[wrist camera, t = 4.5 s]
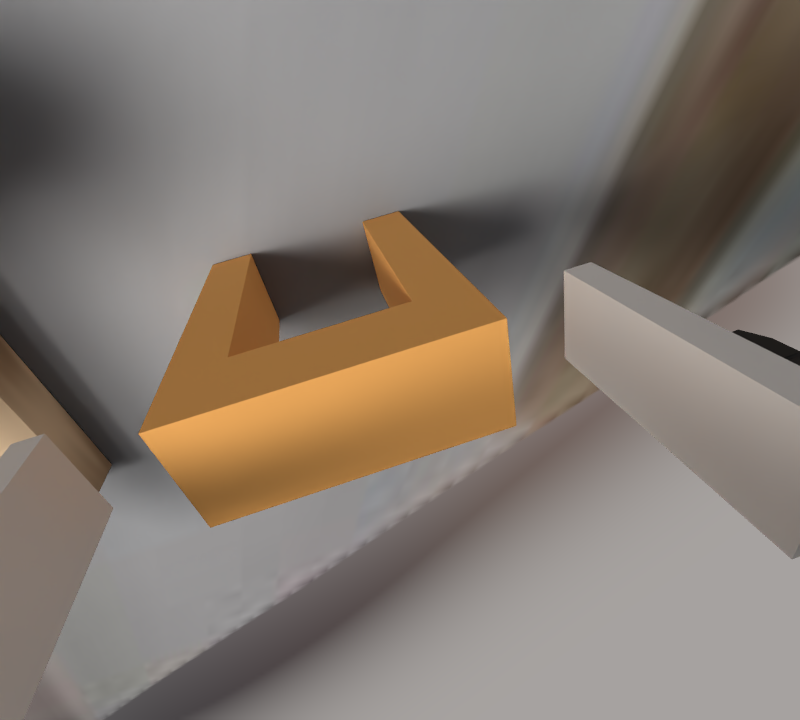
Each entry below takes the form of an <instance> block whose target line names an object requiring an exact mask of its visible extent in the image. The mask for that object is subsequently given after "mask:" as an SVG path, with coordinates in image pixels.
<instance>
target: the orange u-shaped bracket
mask: <svg viewBox="0 0 800 720" xmlns="http://www.w3.org/2000/svg"><path fill="white" fill-rule="evenodd" d="M363 226H364V230H365V233H366V237H367V241H368V245H369V248H370V252H371V256H372V260H373V264H374V267H375V271H376V275H377V279H378V282H379V286H380V290H381V292H382V294H383V296H384V298H385V300H386V302H387V304H388V306H389V308H388V309H385V310H381V311H378V312H375V313H372V314H368V315H365V316H362V317H358V318H355V319H352V320H349V321H345V322H342V323H339V324H336V325H332V326H329V327H326V328H322V329H319V330H316V331H313V332H309V333H306V334H303V335H299V336H296V337H293V338H290V339H286V340H283V341H280V342H279V321H280V320H279V318H278V316H277V313H276V311H275V309H274V306H273V304H272V302H271V299H270V297H269V295H268V292H267V290H266V288H265V285H264V283H263V281H262V278H261V276H260V274H259V271H258V269H257V267H256V264H255V262H254V260H253V257H252V255H251V254H249V255H246V256H242V257H239V258H235V259H232V260H228V261H225V262H221V263H218V264H214V265H213V266H212V268H211V270H210V273H209V275H208V277H207V279H206V282H205V284H204V286H203V289H202V291H201V293H200V295H199V298H198V300H197V302H196V304H195V307H194V309H193V311H192V313H191V316H190V318H189V320H188V323H187V325H186V327H185V329H184V332H183V334H182V336H181V338H180V341H179V343H178V345H177V347H176V350H175V352H174V354H173V357H172V359H171V361H170V363H169V366H168V368H167V370H166V372H165V375H164V377H163V379H162V381H161V384H160V386H159V388H158V390H157V393H156V395H155V397H154V400H153V402H152V404H151V406H150V409H149V411H148V413H147V415H146V418H145V420H144V422H143V424H142V427H141V429H140V431H139V435H140V436H141V438H142V439H143V440H144V442H145V443H146V444H147V446H148V447H149V448H150V450H151V451H152V452H153V453H154V455H155V456H156V457H157V459H158V460H159V461H160V463H161V464H162V465H163V466H164V468H165V469H166V470H167V472H168V473H169V474H170V476H171V477H172V478H173V480H174V481H175V482H176V483H177V485H178V486H179V487H180V489H181V490H182V491H183V493H184V494H185V495H186V497H187V498H188V499H189V500H190V502H191V503H192V504H193V506H194V507H195V508H196V510H197V511H198V512H199V513H200V515H201V516H202V517H203V519H204V520H205V521H206V523H207V524H208V525H209V527H210V528H211V527H214V526H217V525H220V524H223V523H226V522H229V521H232V520H235V519H238V518H241V517H244V516H247V515H250V514H253V513H256V512H259V511H262V510H265V509H268V508H271V507H274V506H277V505H280V504H283V503H286V502H289V501H292V500H295V499H298V498H301V497H304V496H307V495H310V494H313V493H316V492H319V491H322V490H325V489H328V488H331V487H334V486H337V485H340V484H343V483H346V482H349V481H352V480H355V479H358V478H361V477H364V476H367V475H370V474H373V473H376V472H379V471H382V470H385V469H388V468H391V467H394V466H397V465H400V464H403V463H406V462H409V461H412V460H415V459H418V458H421V457H424V456H427V455H430V454H433V453H436V452H439V451H442V450H445V449H448V448H451V447H454V446H457V445H460V444H463V443H466V442H469V441H472V440H475V439H478V438H481V437H484V436H487V435H490V434H493V433H496V432H499V431H502V430H505V429H508V428H511V427H514V426H516V415H515V404H514V393H513V382H512V371H511V360H510V348H509V337H508V326H507V318H506V317H505V316H504V315H503V314H502V313H501V312H500V311H499V310H498V309H497V308H496V307H495V306H494V305H493V304H492V303H491V302H490V301H489V300H488V299H487V298H486V297H485V296H484V295H483V294H482V293H481V292H480V291H479V290H478V289H477V288H476V287H475V286H474V285H473V284H472V283H471V282H470V281H469V280H468V279H467V278H466V277H465V276H464V275H463V274H462V273H461V272H460V271H458V270H457V269H456V268H455V267H454V266H453V265H452V264H451V263H450V262H449V261H448V260H447V259H446V258H445V257H444V256H443V255H442V254H441V253H440V252H439V251H438V250H437V249H436V248H435V247H434V246H433V245H432V244H431V243H430V242H429V241H428V240H427V239H426V238H425V237H424V236H423V235H422V234H421V233H420V232H419V231H418V230H417V229H416V228H415V227H414V226H413V225H412V224H411V223H410V222H409V221H408V220H407V219H406V218H405V217H404V216H403V215H402V214H401V213H400V212H399V211H398V212H394V213H391V214H387V215H384V216H381V217H377V218H374V219H370V220H367V221H363Z"/></svg>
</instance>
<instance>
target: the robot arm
mask: <svg viewBox="0 0 800 720" xmlns="http://www.w3.org/2000/svg"><path fill="white" fill-rule="evenodd" d="M564 324H565V359H566V360H567V361H569V362H570V363H571V364H572V365H573V366H574V367H575V368H576V369H578V370H579V371H580V372H581V373H582V374H583V375H584V376H586V377H587V378H588V379H589V380H590V381H591V382H592V383H593V384H595V385H596V386H597V387H598V388H599V389H600V390H601V391H603V392H604V393H605V394H606V395H607V396H608V397H609V398H610V399H611V400H613V401H614V402H615V403H616V404H617V405H618V406H619V407H621V408H622V409H623V410H624V411H625V412H626V413H627V414H628V415H630V416H631V417H632V418H633V419H634V420H635V421H636V422H637V423H639V424H640V425H641V426H642V427H643V428H644V429H645V430H647V431H648V432H649V433H650V434H651V435H652V436H653V437H654V438H656V439H657V440H658V441H659V442H660V443H661V444H662V445H663V446H665V447H666V448H667V449H668V450H669V451H670V452H671V453H673V454H674V455H675V456H676V457H677V458H678V459H679V460H680V461H682V462H683V463H684V464H685V465H686V466H687V467H688V468H689V469H691V470H692V471H693V472H694V473H695V474H696V475H697V476H698V477H700V478H701V479H702V480H703V481H704V482H705V483H706V484H707V485H709V486H710V487H711V488H712V489H713V490H714V491H715V492H716V493H718V494H719V495H720V496H721V497H722V498H723V499H724V500H725V501H727V502H728V503H729V504H730V505H731V506H732V507H733V508H735V509H736V510H737V511H738V512H739V513H740V514H741V515H742V516H744V517H745V518H746V519H747V520H748V521H749V522H750V523H751V524H753V525H754V526H755V527H756V528H757V529H758V530H759V531H760V532H762V533H763V534H764V535H765V536H766V537H767V538H768V539H770V540H771V541H772V542H773V543H774V544H775V545H776V546H777V547H779V548H780V549H781V550H782V551H783V552H784V553H785V554H786V555H788V556H789V557H790V558H791V559H794V558H796V557H799V556H800V351H798V350H796V349H794V348H792V347H789V346H787V345H785V344H783V343H781V342H779V341H777V340H775V339H772V338H769V337H765V336H761V335H757V334H753V333H749V332H745V331H741V330H736V331H733V332H730V331H728V330H726V329H724V328H722V327H720V326H718V325H716V324H714V323H712V322H710V321H708V320H706V319H704V318H702V317H700V316H698V315H696V314H694V313H692V312H690V311H688V310H686V309H684V308H682V307H680V306H678V305H676V304H674V303H672V302H670V301H668V300H666V299H664V298H662V297H660V296H658V295H656V294H654V293H652V292H650V291H648V290H646V289H644V288H642V287H640V286H638V285H636V284H634V283H632V282H630V281H628V280H626V279H624V278H622V277H620V276H618V275H616V274H614V273H612V272H610V271H608V270H606V269H604V268H602V267H600V266H598V265H596V264H594V263H592V262H589V263H586V264H583V265H580V266H577V267H573V268H570V269H567V270H564ZM112 510H113V507H112V506H111V505H110V504H109V503H108V502H107V501H106V500H105V499H104V498H103V496H102V495H101V494H100V493H99V492H98V491H97V490H96V489H95V488H94V487H93V486H92V484H91V483H90V482H89V481H88V480H87V479H86V478H85V477H84V476H83V475H82V474H81V472H80V471H79V470H78V469H77V468H76V467H75V466H74V465H73V464H72V463H71V461H70V460H69V459H68V458H67V457H66V456H65V455H64V454H63V453H62V452H61V451H60V449H59V448H58V447H57V446H56V445H55V444H54V443H53V442H52V441H51V440H50V439H49V437H48V436H47V435H46V434H42V435H38V436H35V437H32V438H29V439H26V440H23V441H19V442H16V443H13V444H11V445H10V446H9V447H8V449H7V450H6V451H5V452H4V454H3V455H2V456H1V457H0V720H24V718H25V716H26V713H27V711H28V708H29V706H30V704H31V701H32V699H33V697H34V694H35V692H36V690H37V687H38V685H39V682H40V680H41V678H42V675H43V673H44V671H45V668H46V666H47V664H48V661H49V659H50V656H51V654H52V652H53V649H54V647H55V645H56V642H57V640H58V638H59V635H60V633H61V630H62V628H63V626H64V623H65V621H66V619H67V616H68V614H69V612H70V609H71V607H72V604H73V602H74V600H75V597H76V595H77V593H78V590H79V588H80V586H81V583H82V581H83V578H84V576H85V574H86V571H87V569H88V567H89V564H90V562H91V560H92V557H93V555H94V552H95V550H96V548H97V545H98V543H99V541H100V538H101V536H102V534H103V531H104V529H105V526H106V524H107V522H108V519H109V517H110V515H111V512H112Z"/></svg>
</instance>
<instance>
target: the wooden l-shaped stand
mask: <svg viewBox="0 0 800 720" xmlns="http://www.w3.org/2000/svg"><path fill="white" fill-rule="evenodd" d="M42 434H46V435H47V436H48V437H49V439H50V440H51V441H52V442H53V443H54V444H55V445H56V446H57V447H58V448H59V449H60V451H61V452H62V453H63V454H64V455H65V456H66V457H67V458H68V459H69V460H70V461H71V463H72V464H73V465H74V466H75V467H76V468H77V469H78V470H79V471H80V472H81V474H82V475H83V476H84V477H85V478H86V479H87V480H88V481H89V482H90V483H91V484H92V486H93V487H94V488H95V489H96V490H97V491H98V492H99V491H100V489H101V487H102V485H103V482H104V480H105V478H106V476H107V474H108V472H109V470H110V468H111V466H112V464H111V463H110V462H109V461H108V460H107V459H106V457H105V456H104V455H103V454H102V453H101V452H100V450H99V449H98V448H97V447H96V446H95V445H94V444H93V442H92V441H91V440H90V439H89V438H88V437H87V435H86V434H85V433H84V432H83V431H82V430H81V428H80V427H79V426H78V425H77V424H76V423H75V421H74V420H73V419H72V418H71V417H70V416H69V415H68V413H67V412H66V411H65V410H64V409H63V408H62V406H61V405H60V404H59V403H58V402H57V401H56V399H55V398H54V397H53V396H52V395H51V394H50V392H49V391H48V390H47V389H46V388H45V387H44V386H43V384H42V383H41V382H40V381H39V380H38V379H37V377H36V376H35V375H34V374H33V373H32V372H31V370H30V369H29V368H28V367H27V366H26V365H25V363H24V362H23V361H22V360H21V359H20V358H19V357H18V355H17V354H16V353H15V352H14V351H13V350H12V348H11V347H10V346H9V345H8V344H7V343H6V341H5V340H4V339H3V338H2V337H1V336H0V457H1V456H2V455H3V454H4V452H5V451H6V450H7V449H8V447H9V446H10V445H11V444H13V443H16V442H19V441H23V440H26V439H29V438H32V437H35V436H38V435H42Z"/></svg>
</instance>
